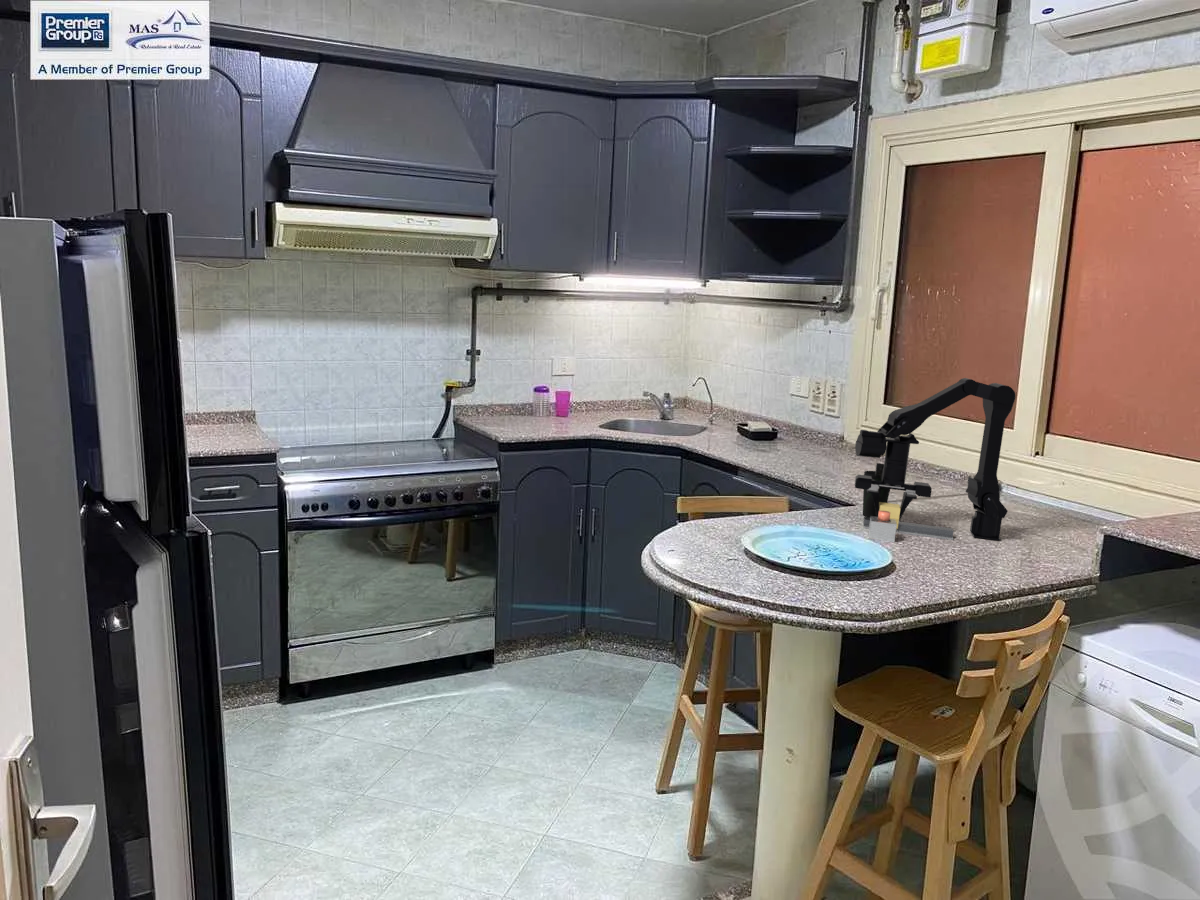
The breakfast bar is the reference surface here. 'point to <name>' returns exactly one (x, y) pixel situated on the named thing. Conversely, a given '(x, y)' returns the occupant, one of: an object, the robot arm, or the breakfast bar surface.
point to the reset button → (884, 515)
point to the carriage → (891, 510)
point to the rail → (919, 529)
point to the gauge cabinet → (882, 529)
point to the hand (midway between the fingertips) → (888, 518)
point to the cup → (868, 499)
